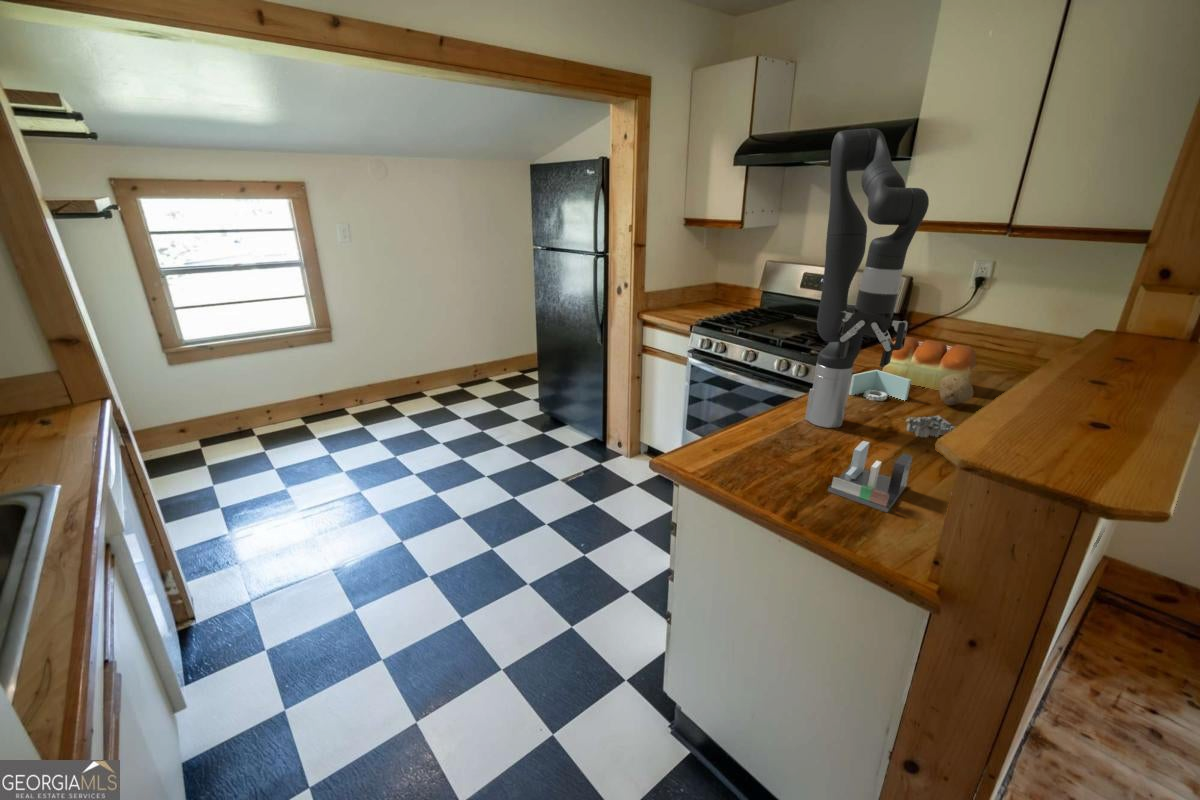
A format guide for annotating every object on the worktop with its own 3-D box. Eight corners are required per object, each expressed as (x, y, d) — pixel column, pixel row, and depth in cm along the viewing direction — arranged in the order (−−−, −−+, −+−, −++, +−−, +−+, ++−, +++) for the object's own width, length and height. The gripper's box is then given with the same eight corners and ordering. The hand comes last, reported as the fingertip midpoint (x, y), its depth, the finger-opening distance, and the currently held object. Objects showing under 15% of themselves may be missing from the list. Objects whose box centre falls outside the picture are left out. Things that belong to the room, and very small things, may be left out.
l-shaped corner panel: (848, 396, 169) (852, 374, 167) (872, 390, 175) (876, 369, 172) (881, 408, 159) (886, 385, 157) (906, 402, 165) (911, 379, 162)
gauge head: (841, 484, 113) (846, 456, 111) (857, 467, 120) (863, 440, 118) (847, 487, 112) (853, 458, 110) (863, 469, 119) (869, 442, 117)
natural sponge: (969, 404, 162) (977, 373, 158) (969, 413, 155) (978, 381, 151) (935, 398, 167) (942, 368, 163) (933, 406, 160) (941, 376, 156)
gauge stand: (827, 491, 113) (833, 458, 110) (849, 468, 123) (856, 438, 120) (887, 512, 105) (895, 478, 103) (906, 486, 115) (914, 454, 112)
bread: (968, 387, 177) (980, 345, 172) (961, 396, 168) (973, 352, 163) (889, 371, 193) (897, 332, 187) (879, 379, 184) (887, 339, 179)
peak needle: (864, 495, 109) (871, 466, 106) (870, 489, 111) (876, 460, 109) (869, 497, 108) (876, 468, 106) (875, 491, 111) (881, 461, 108)
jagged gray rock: (918, 439, 139) (922, 425, 137) (901, 428, 145) (904, 414, 144) (956, 437, 139) (959, 423, 138) (936, 426, 146) (939, 413, 145)
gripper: (921, 292, 108) (901, 365, 114) (850, 282, 117) (836, 351, 123) (910, 296, 103) (891, 373, 109) (837, 286, 112) (823, 358, 118)
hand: (862, 361), depth 116 cm, fingers open, 8 cm apart
